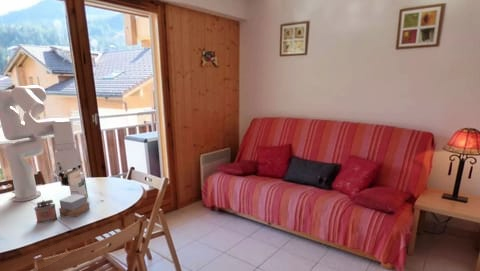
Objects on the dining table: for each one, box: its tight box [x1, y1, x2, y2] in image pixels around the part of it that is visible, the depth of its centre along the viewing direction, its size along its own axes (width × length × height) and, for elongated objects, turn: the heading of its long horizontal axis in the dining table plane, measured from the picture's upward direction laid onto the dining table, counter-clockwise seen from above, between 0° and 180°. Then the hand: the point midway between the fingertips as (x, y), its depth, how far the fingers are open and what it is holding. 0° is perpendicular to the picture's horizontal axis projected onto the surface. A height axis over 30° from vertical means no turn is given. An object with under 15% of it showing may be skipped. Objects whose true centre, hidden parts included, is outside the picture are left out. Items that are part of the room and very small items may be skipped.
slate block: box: [59, 194, 88, 211], centre depth 138 cm, size 8×8×4 cm
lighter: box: [34, 199, 58, 225], centre depth 131 cm, size 8×3×10 cm, turn 114°
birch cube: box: [59, 169, 82, 187], centre depth 136 cm, size 6×6×6 cm
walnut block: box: [58, 201, 91, 219], centre depth 139 cm, size 9×9×4 cm
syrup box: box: [68, 171, 89, 198], centre depth 154 cm, size 6×6×14 cm
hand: (71, 181), depth 136 cm, fingers closed on birch cube, 6 cm apart
